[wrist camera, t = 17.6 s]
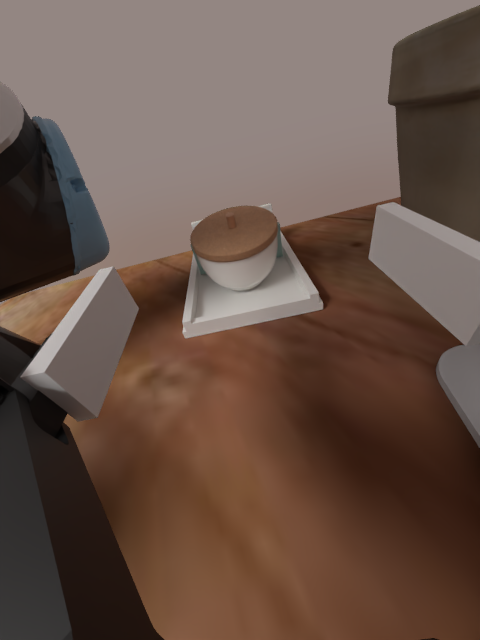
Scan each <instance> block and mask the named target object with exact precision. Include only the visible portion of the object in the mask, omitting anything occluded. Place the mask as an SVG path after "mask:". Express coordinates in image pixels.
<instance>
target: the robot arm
mask: <svg viewBox="0 0 480 640" xmlns="http://www.w3.org/2000/svg"><path fill="white" fill-rule="evenodd" d="M108 253H109V241H108V238H107V235H106V232H105V229H104V227H103V224H102V222H101V219H100V217H99V214H98V212H97V210H96V207H95V204H94V202H93V200H92V198H91V195H90V193H89V191H88V189H87V188H86V186H85V182H84V180H83V178H82V175H81V173H80V171H79V168H78V166H77V163H76V161H75V159H74V157H73V154H72V152H71V150H70V148H69V146H68V144H67V142H66V140H65V138H64V136H63V134H62V132H61V130H60V128H59V127H58V125H57V124H56V123H55V122H54V121H53V120H51V119H42V118H41V117H39V116H38V117H36V116H35V117H33V118H32V120H31V119H30V117H29V116H28V114H27V112H26V111H25V109H24V108H23V106H22V104H21V103H20V101H19V100H18V98H17V97H16V95H15V94H14V93H13V92H12V91H11V90H10V89H9V88H8V87H7V86H6V85H5V84H3V83H1V82H0V302H2V301H5V300H7V299H10V298H13V297H15V296H18V295H21V294H24V293H26V292H29V291H32V290H34V289H37V288H39V287H42V286H45V285H48V284H50V283H53V282H56V281H58V280H61V279H64V278H67V277H69V276H72V275H76V274H79V272H80V271H82V270H84V269H86V268H88V267H90V266H92V265H95V264H97V263H99V262H101V261H102V260H104V259H105V258H106V256H107V255H108ZM368 259H369V260H371V261H372V262H373V263H374V264H375V265H376V266H377V267H378V268H379V269H381V270H382V271H383V272H384V273H385V274H386V275H387V276H388V277H389V278H391V279H392V280H393V281H394V282H395V283H396V284H397V285H398V286H399V287H401V288H402V289H403V290H404V291H405V292H406V293H407V294H408V295H409V296H411V297H412V298H413V299H414V300H415V301H416V302H417V303H418V304H420V305H421V306H422V307H423V308H424V309H425V310H426V311H427V312H428V313H430V314H431V315H432V316H433V317H434V318H435V319H436V320H437V321H438V322H440V323H441V324H442V325H443V326H444V327H445V328H446V329H447V330H448V331H450V332H451V333H452V334H453V335H454V336H455V337H456V338H457V339H458V340H460V341H461V342H462V343H463V344H464V345H465V346H470V345H475V344H480V241H478V240H474V239H472V238H470V237H468V236H465V235H463V234H461V233H459V232H457V231H455V230H453V229H450V228H448V227H446V226H444V225H442V224H440V223H437V222H435V221H433V220H431V219H429V218H427V217H424V216H422V215H420V214H418V213H416V212H414V211H412V210H409V209H407V208H405V207H403V206H401V205H399V204H396V203H394V202H391V203H387V204H383V205H378V206H377V208H376V215H375V221H374V227H373V233H372V239H371V246H370V252H369V258H368ZM138 310H139V308H138V306H137V305H136V303H135V301H134V300H133V298H132V296H131V294H130V293H129V291H128V289H127V288H126V286H125V284H124V283H123V281H122V279H121V278H120V276H119V274H118V273H117V271H116V269H115V268H114V267H109V268H105V269H100V270H99V271H98V272H97V274H96V275H95V276H94V278H93V279H92V280H91V282H90V283H89V285H88V286H87V287H86V289H85V290H84V291H83V293H82V294H81V295H80V297H79V298H78V299H77V301H76V302H75V303H74V305H73V306H72V308H71V309H70V310H69V312H68V313H67V314H66V316H65V317H64V318H63V320H62V321H61V322H60V324H59V325H58V327H57V328H56V329H55V331H54V332H53V333H52V334H51V335H50V336H48V337H47V338H46V340H45V341H44V342H43V344H42V345H40V344H38V343H36V342H33V341H31V340H29V339H27V338H25V337H22V336H20V335H18V334H16V333H14V332H11V331H9V330H7V329H5V328H2V327H0V640H164V639H163V638H162V637H161V636H160V635H159V634H158V633H157V632H156V630H155V629H154V627H153V625H152V623H151V621H150V619H149V617H148V614H147V612H146V610H145V607H144V605H143V603H142V600H141V598H140V595H139V593H138V591H137V588H136V586H135V583H134V581H133V579H132V576H131V574H130V572H129V569H128V567H127V564H126V562H125V560H124V557H123V555H122V552H121V550H120V548H119V545H118V543H117V540H116V538H115V536H114V533H113V531H112V529H111V526H110V524H109V521H108V519H107V517H106V514H105V512H104V509H103V507H102V505H101V502H100V500H99V498H98V495H97V493H96V490H95V488H94V486H93V483H92V481H91V478H90V476H89V474H88V471H87V469H86V466H85V464H84V462H83V459H82V457H81V455H80V452H79V450H78V447H77V445H76V443H75V440H74V438H73V435H72V433H71V431H70V428H69V427H68V426H67V425H66V424H65V423H63V421H64V419H65V417H66V415H67V413H68V414H69V415H70V416H72V417H73V418H74V419H75V420H77V421H83V420H88V419H93V418H98V415H99V413H100V410H101V407H102V405H103V402H104V400H105V397H106V394H107V392H108V389H109V386H110V384H111V381H112V378H113V376H114V373H115V371H116V368H117V365H118V363H119V360H120V357H121V355H122V352H123V350H124V347H125V344H126V342H127V339H128V336H129V334H130V331H131V328H132V326H133V323H134V321H135V318H136V315H137V313H138ZM422 640H438V639H435V638H430V639H422Z"/></svg>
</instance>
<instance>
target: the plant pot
mask: <svg viewBox="0 0 480 640" xmlns="http://www.w3.org/2000/svg"><path fill="white" fill-rule="evenodd" d="M388 103H389V104H390V105H393V106H395V107H396V125H397V126H396V127H397V147H398V163H399V175H400V190H401V206H403V207H405V208H407V209H409V210H412V211H414V212H416V213H418V214H420V215H422V216H424V217H427V218H429V219H431V220H433V221H435V222H437V223H440V224H442V225H444V226H446V227H448V228H450V229H453V230H455V231H457V232H459V233H461V234H463V235H465V236H468V237H470V238H472V239H474V240H478V241H480V5H479V6H477V7H474V8H471V9H469V10H466V11H464V12H461V13H459V14H456V15H454V16H452V17H449V18H447V19H445V20H442V21H440V22H438V23H435V24H433V25H431V26H428V27H426V28H424V29H422V30H419V31H417V32H415V33H413V34H411V35H409V36H407V37H406V38H404V39H402V40H401V41H399V42H398V43H397V44H396V45H395V46H394V48H393V53H392V65H391V75H390V85H389V95H388Z"/></svg>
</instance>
